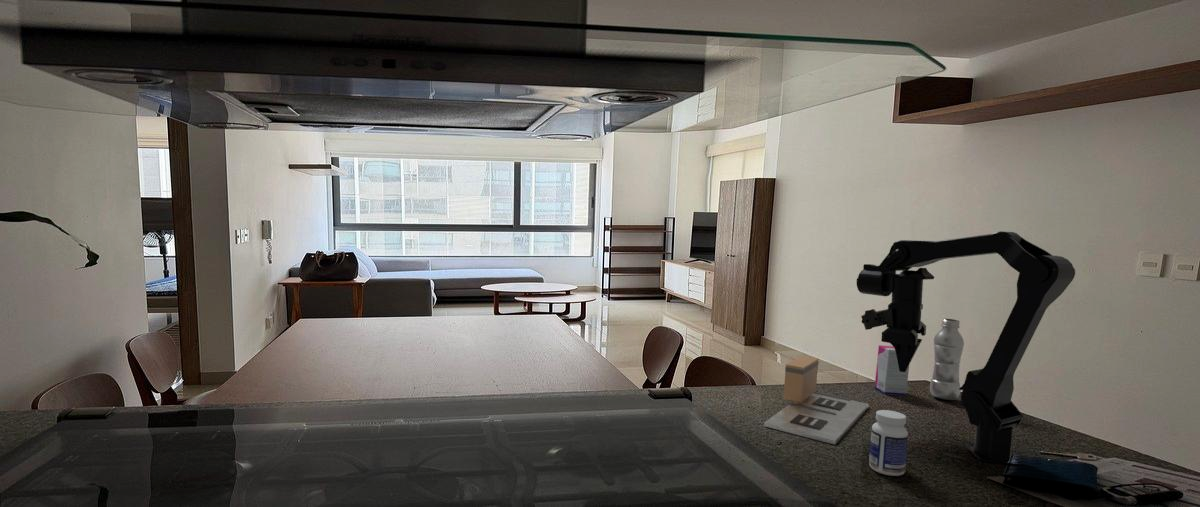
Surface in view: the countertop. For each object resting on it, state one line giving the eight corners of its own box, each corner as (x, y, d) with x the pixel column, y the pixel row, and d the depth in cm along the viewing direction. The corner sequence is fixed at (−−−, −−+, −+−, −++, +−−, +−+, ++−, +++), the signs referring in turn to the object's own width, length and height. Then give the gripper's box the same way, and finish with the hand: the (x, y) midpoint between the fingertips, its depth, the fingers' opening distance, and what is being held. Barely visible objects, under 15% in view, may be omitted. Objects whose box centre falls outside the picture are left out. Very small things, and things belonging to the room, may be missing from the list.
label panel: (868, 407, 136) (868, 402, 136) (834, 444, 112) (835, 439, 112) (807, 393, 144) (807, 389, 144) (764, 426, 120) (764, 421, 120)
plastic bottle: (965, 403, 143) (972, 323, 142) (937, 402, 143) (944, 321, 142) (949, 395, 149) (957, 318, 148) (923, 394, 149) (930, 316, 148)
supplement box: (907, 395, 147) (911, 351, 146) (883, 394, 147) (887, 349, 147) (896, 388, 153) (900, 345, 152) (873, 387, 153) (877, 344, 152)
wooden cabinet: (816, 390, 142) (818, 358, 142) (801, 402, 132) (803, 367, 132) (799, 387, 145) (801, 355, 144) (783, 398, 135) (785, 364, 134)
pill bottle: (909, 470, 102) (914, 414, 101) (899, 480, 98) (904, 422, 97) (874, 459, 106) (879, 406, 105) (863, 468, 102) (868, 413, 101)
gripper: (873, 292, 136) (870, 358, 137) (856, 298, 121) (852, 373, 122) (928, 297, 130) (924, 366, 131) (917, 304, 115) (912, 382, 115)
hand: (902, 371), depth 125 cm, fingers closed
